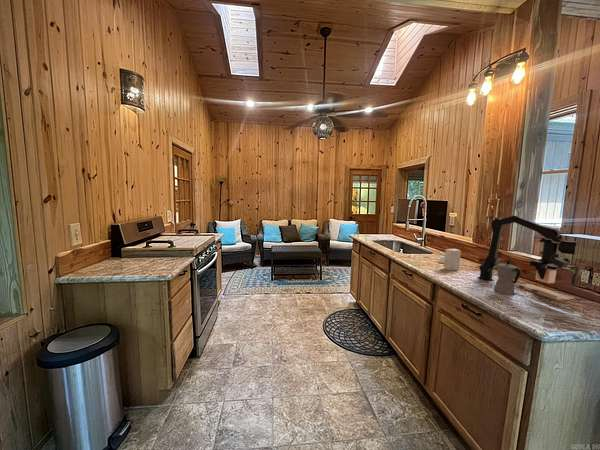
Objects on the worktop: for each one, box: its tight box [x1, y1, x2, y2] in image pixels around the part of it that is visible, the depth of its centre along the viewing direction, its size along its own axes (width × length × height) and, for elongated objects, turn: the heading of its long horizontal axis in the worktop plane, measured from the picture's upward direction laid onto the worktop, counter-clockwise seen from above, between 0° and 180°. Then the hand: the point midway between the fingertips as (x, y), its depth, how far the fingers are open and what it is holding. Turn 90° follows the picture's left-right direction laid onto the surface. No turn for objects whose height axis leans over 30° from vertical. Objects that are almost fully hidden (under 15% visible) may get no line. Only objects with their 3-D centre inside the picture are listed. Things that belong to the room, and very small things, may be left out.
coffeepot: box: [493, 260, 521, 296], centre depth 147 cm, size 15×9×18 cm, turn 179°
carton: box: [535, 269, 558, 284], centre depth 147 cm, size 4×6×7 cm
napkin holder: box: [439, 255, 445, 264], centre depth 211 cm, size 15×11×6 cm
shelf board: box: [514, 282, 574, 301], centre depth 149 cm, size 14×22×3 cm, turn 14°
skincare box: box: [443, 248, 462, 272], centre depth 192 cm, size 8×6×15 cm
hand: (545, 278), depth 148 cm, fingers closed on carton, 4 cm apart
